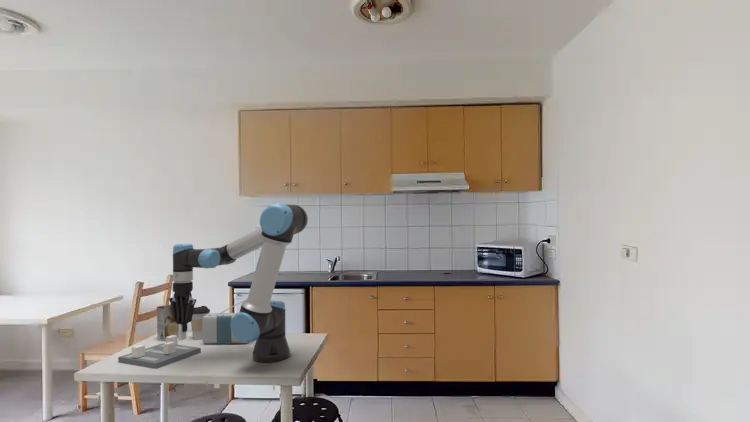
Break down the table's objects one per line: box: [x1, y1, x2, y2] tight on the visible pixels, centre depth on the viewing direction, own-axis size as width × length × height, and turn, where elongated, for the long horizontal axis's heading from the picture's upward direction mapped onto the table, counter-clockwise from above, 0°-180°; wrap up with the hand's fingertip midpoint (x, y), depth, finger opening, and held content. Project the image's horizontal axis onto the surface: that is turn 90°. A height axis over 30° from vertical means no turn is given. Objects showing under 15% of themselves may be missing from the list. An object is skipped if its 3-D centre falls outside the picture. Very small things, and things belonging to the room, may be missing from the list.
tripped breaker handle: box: [162, 341, 176, 354], centre depth 178 cm, size 3×4×4 cm
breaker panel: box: [117, 342, 202, 370], centre depth 180 cm, size 22×22×2 cm
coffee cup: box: [190, 305, 211, 341], centre depth 210 cm, size 9×9×15 cm
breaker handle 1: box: [131, 344, 146, 358], centre depth 174 cm, size 3×4×4 cm
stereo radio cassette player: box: [202, 298, 248, 345], centre depth 201 cm, size 21×8×20 cm, turn 88°
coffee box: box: [156, 303, 178, 342], centre depth 210 cm, size 9×6×16 cm
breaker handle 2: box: [165, 335, 179, 345], centre depth 189 cm, size 3×4×4 cm
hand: (182, 339), depth 175 cm, fingers closed
